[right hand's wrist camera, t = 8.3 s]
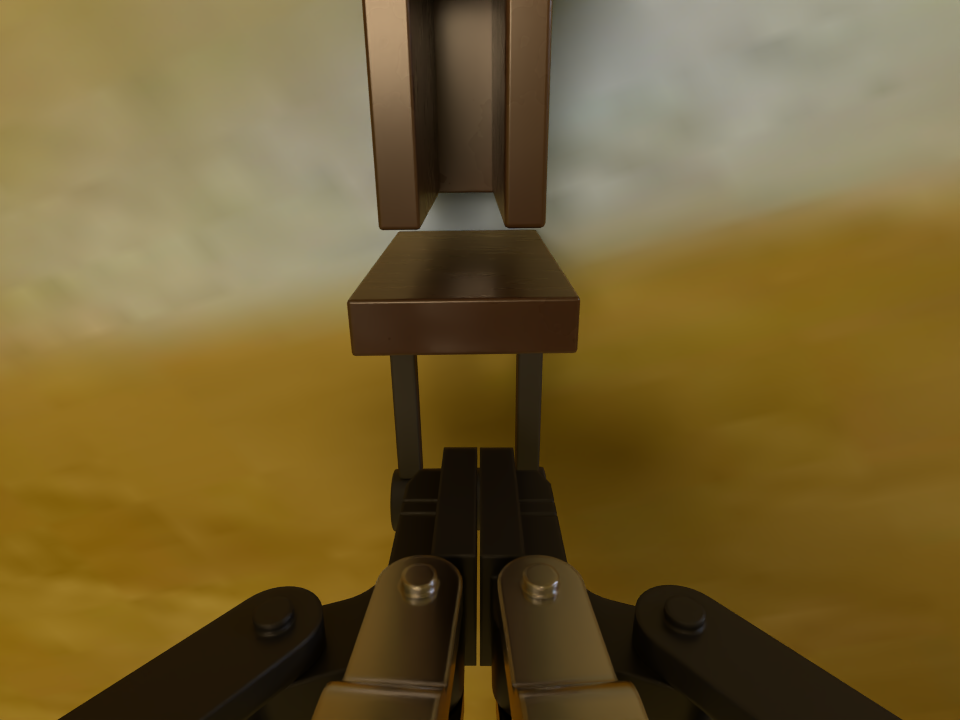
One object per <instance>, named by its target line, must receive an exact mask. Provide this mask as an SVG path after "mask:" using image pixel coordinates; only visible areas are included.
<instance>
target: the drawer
mask: <svg viewBox="0 0 960 720" xmlns="http://www.w3.org/2000/svg"><path fill="white" fill-rule="evenodd" d="M552 3H553V0H362V7H363V21H364V34H365V48H366V61H367V74H368V88H369V101H370V115H371V128H372V141H373V155H374V168H375V182H376V195H377V208H378V222H379V228H380V229H381V230H417V229H420V227H421V225H422V223H423V222H424V220H425V218H426V216H427V214H428V212H429V210H430V209H431V207H432V205H433V203H434V201H435V199H436V198H437V196H438V194H439V193H472V192H493V193H494V196H495V199H496V202H497V205H498V207H499V210H500V213H501V216H502V219H503V222H504V225H505V227H507V228H541V227H543V226H544V225H545V220H546V189H547V158H548V127H549V96H550V65H551V34H552ZM347 308H348V318H349V328H350V338H351V348H352V353H353V355H355V356H380V355H390V362H391V375H392V389H393V403H394V416H395V430H396V443H397V457H398V469H396V470H395V471H394V473H393V477H392V484H391V501H390V508H391V523H392V527H393V530H394V531H396V529H397V524H398V520H399V516H400V511H401V506H402V502H403V497H404V492H405V488H406V484H407V483H408V482H409V480H410V479H411V478H412V477H413V476H414V475H415V474H416V473H417V472H418V471H419V470H441V468H437V469H423V457H422V439H421V421H420V402H419V384H418V366H417V355H453V354H517V355H516V422H515V468H516V470H538V471H539V472H540V473H541V474H542V475H543V476H544V477H545V478H546V476H545V471H544V469H543V467H539V450H540V420H541V390H542V360H543V353H575V352H576V351H577V345H578V327H579V310H580V299H579V297H578V295H577V293H576V292H575V290H574V289H573V287H572V286H571V284H570V283H569V281H568V279H567V278H566V276H565V275H564V273H563V272H562V270H561V269H560V267H559V266H558V264H557V262H556V261H555V259H554V258H553V256H552V255H551V253H550V252H549V250H548V248H547V247H546V245H545V244H544V242H543V241H542V239H541V238H540V236H539V234H538V233H537V231H536V230H479V231H400V232H398V233H397V235H396V236H395V237H394V239H393V240H392V241H391V243H390V244H389V245H388V247H387V248H386V249H385V251H384V252H383V254H382V255H381V256H380V258H379V259H378V260H377V262H376V263H375V264H374V266H373V267H372V268H371V270H370V271H369V273H368V274H367V275H366V277H365V278H364V279H363V281H362V282H361V283H360V285H359V286H358V287H357V289H356V290H355V292H354V293H353V294H352V296H351V297H350V298H349V300H348V302H347ZM477 530H480V468H477Z"/></svg>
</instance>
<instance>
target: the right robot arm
mask: <svg viewBox="0 0 960 720" xmlns="http://www.w3.org/2000/svg"><path fill="white" fill-rule="evenodd" d="M476 631H477V447H444V451H443V459H442V467H441V470H419V471H418V472H417V473H416V474H415V475H414V476H413V477H412V478H411V479H410V480H409V482H408V483H407V484H406V488H405V492H404V497H403V502H402V506H401V511H400V516H399V520H398V524H397V529H396V533H395V538H394V542H393V547H392V552H391V556H390V561H389V565H388V567H387V568H386V569H385V570H383V572H382V573H381V574H380V576H379V577H378V580H377V582H376V585H374V586H373V587H372V588H370V589H369V590H367V591H366V592H364V593H362V594H360V595H358V596H355V597H353V598H350V599H346V600H343V601H339V602H335V603H331V604H327V605H323V606H322V605H321V602H320V600H319V599H318V597H317V596H316V595H315V594H314V593H312V592H311V591H309V590H306V589H304V588H300V587H291V586H286V587H277V588H272V589H269V590H266V591H263V592H260V593H258V594H256V595H254V596H252V597H250V598H249V599H247V600H245V601H244V602H242V603H241V604H239V605H238V606H236V607H234V608H233V609H231V610H230V611H228V612H227V613H225V614H223V615H222V616H220V617H219V618H217V619H216V620H214V621H212V622H211V623H209V624H208V625H206V626H205V627H203V628H201V629H200V630H198V631H197V632H195V633H193V634H192V635H190V636H189V637H187V638H186V639H184V640H182V641H181V642H179V643H178V644H176V645H175V646H173V647H171V648H170V649H168V650H167V651H165V652H164V653H162V654H160V655H159V656H157V657H156V658H154V659H153V660H151V661H149V662H148V663H146V664H145V665H143V666H142V667H140V668H138V669H137V670H135V671H134V672H132V673H131V674H129V675H127V676H126V677H124V678H123V679H121V680H120V681H118V682H116V683H115V684H113V685H112V686H110V687H109V688H107V689H105V690H104V691H102V692H101V693H99V694H97V695H96V696H94V697H93V698H91V699H90V700H88V701H86V702H85V703H83V704H82V705H80V706H79V707H77V708H75V709H74V710H72V711H71V712H69V713H68V714H66V715H64V716H63V717H61V718H60V719H58V720H463V717H464V666H476ZM480 666H492V689H493V694H494V697H495V699H496V717H497V720H902V719H900V718H899V717H897V716H896V715H894V714H892V713H891V712H889V711H888V710H886V709H885V708H883V707H881V706H880V705H878V704H877V703H875V702H874V701H872V700H870V699H869V698H867V697H866V696H864V695H862V694H861V693H859V692H858V691H856V690H855V689H853V688H851V687H850V686H848V685H847V684H845V683H844V682H842V681H840V680H839V679H837V678H836V677H834V676H833V675H831V674H829V673H828V672H826V671H825V670H823V669H822V668H820V667H818V666H817V665H815V664H814V663H812V662H811V661H809V660H807V659H806V658H804V657H803V656H801V655H800V654H798V653H796V652H795V651H793V650H792V649H790V648H789V647H787V646H785V645H784V644H782V643H781V642H779V641H778V640H776V639H774V638H773V637H771V636H770V635H768V634H766V633H765V632H763V631H762V630H760V629H759V628H757V627H755V626H754V625H752V624H751V623H749V622H748V621H746V620H744V619H743V618H741V617H740V616H738V615H737V614H735V613H733V612H732V611H730V610H729V609H727V608H726V607H724V606H722V605H721V604H719V603H718V602H716V601H715V600H713V599H711V598H710V597H708V596H706V595H705V594H703V593H701V592H698V591H696V590H693V589H690V588H687V587H683V586H677V585H662V586H656V587H653V588H650V589H648V590H647V591H645V592H644V593H643V594H642V595H641V596H640V597H639V598H638V600H637V603H636V606H632V605H628V604H624V603H620V602H616V601H612V600H609V599H606V598H603V597H600V596H598V595H595V594H594V593H592V592H590V591H588V590H587V589H586V588H585V585H584V582H583V580H582V577H581V576H580V574H579V573H578V572H577V570H575V569H574V568H573V567H572V566H571V565H569V564H568V563H567V559H566V555H565V550H564V545H563V541H562V536H561V531H560V526H559V522H558V517H557V512H556V507H555V503H554V498H553V493H552V488H551V484H550V483H549V482H548V481H547V480H546V478H545V477H544V476H543V475H542V474H541V473H540V472H539V471H538V470H516V468H515V459H514V450H513V448H480Z"/></svg>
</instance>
